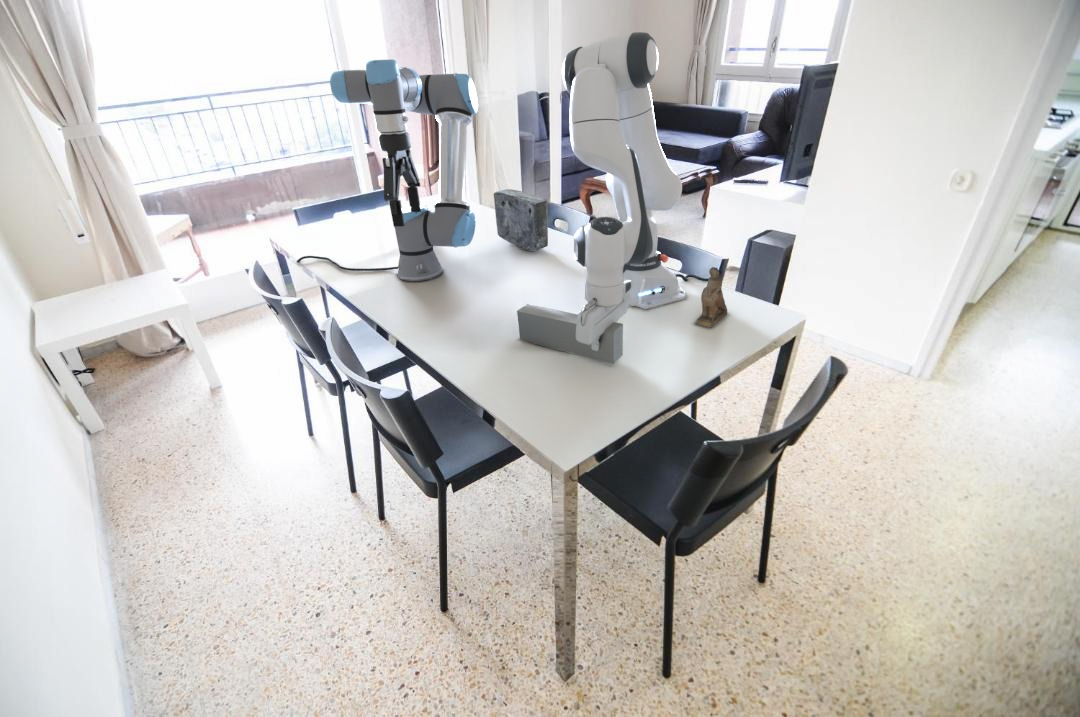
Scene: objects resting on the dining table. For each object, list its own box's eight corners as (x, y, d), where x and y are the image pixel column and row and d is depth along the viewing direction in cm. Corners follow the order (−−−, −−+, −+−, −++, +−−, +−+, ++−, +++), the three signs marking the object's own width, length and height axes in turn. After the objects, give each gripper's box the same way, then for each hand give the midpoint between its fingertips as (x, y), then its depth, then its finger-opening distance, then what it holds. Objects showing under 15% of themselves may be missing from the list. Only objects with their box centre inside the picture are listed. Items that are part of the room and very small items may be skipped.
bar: (520, 340, 133) (516, 310, 129) (530, 332, 136) (527, 303, 132) (613, 364, 119) (613, 332, 114) (622, 355, 122) (623, 323, 118)
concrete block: (553, 252, 189) (552, 199, 179) (534, 258, 185) (532, 204, 175) (514, 236, 208) (511, 187, 198) (496, 241, 204) (492, 191, 193)
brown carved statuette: (709, 335, 136) (713, 280, 124) (691, 329, 139) (693, 274, 128) (730, 313, 142) (736, 258, 130) (712, 307, 145) (716, 253, 133)
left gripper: (389, 139, 111) (406, 232, 122) (423, 125, 132) (434, 206, 143) (357, 140, 112) (376, 232, 123) (396, 126, 133) (409, 206, 144)
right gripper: (594, 311, 105) (592, 367, 112) (635, 279, 119) (631, 329, 126) (568, 305, 108) (568, 359, 115) (611, 274, 122) (609, 323, 129)
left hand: (408, 218), depth 133 cm, fingers open, 13 cm apart
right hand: (602, 343), depth 121 cm, fingers closed on bar, 5 cm apart
